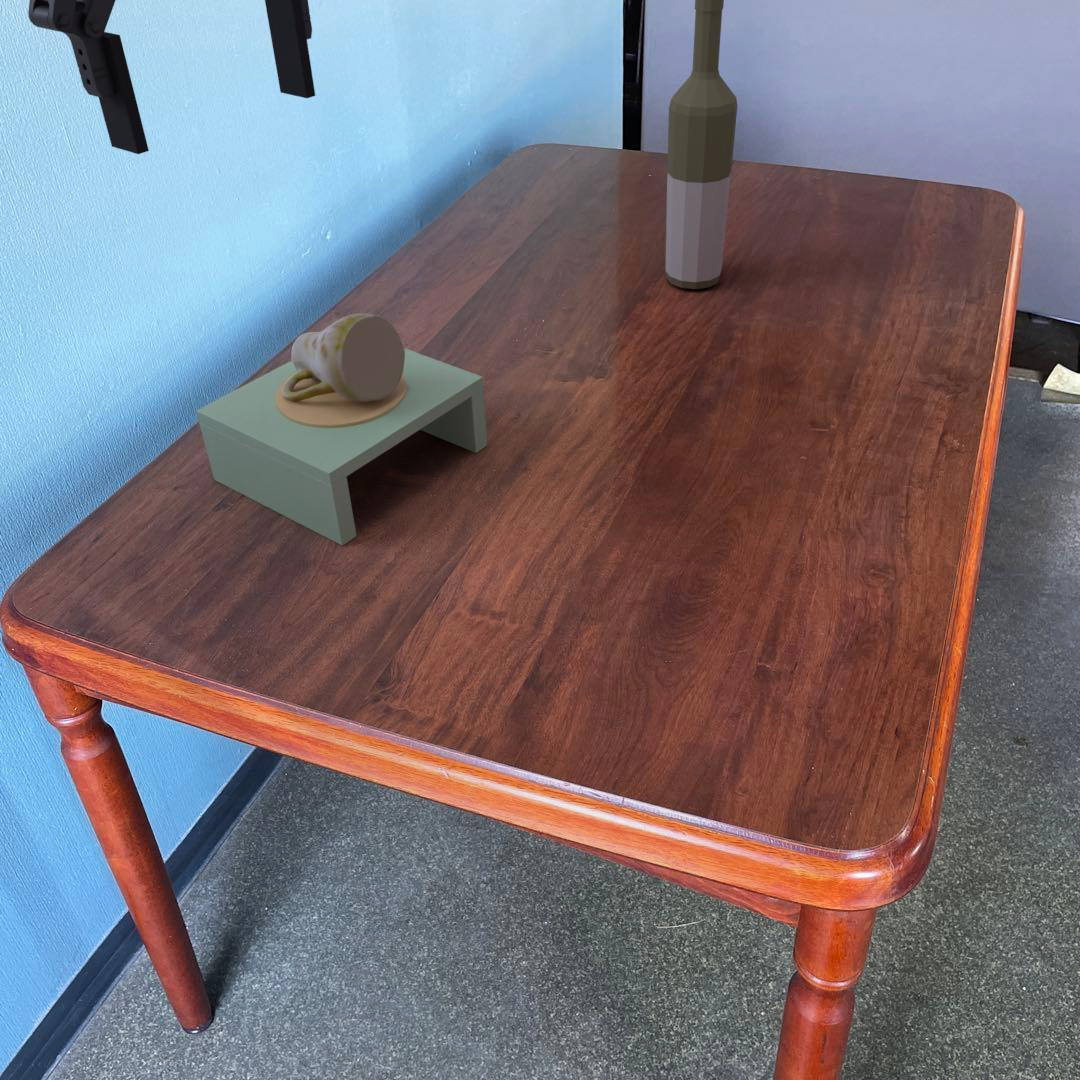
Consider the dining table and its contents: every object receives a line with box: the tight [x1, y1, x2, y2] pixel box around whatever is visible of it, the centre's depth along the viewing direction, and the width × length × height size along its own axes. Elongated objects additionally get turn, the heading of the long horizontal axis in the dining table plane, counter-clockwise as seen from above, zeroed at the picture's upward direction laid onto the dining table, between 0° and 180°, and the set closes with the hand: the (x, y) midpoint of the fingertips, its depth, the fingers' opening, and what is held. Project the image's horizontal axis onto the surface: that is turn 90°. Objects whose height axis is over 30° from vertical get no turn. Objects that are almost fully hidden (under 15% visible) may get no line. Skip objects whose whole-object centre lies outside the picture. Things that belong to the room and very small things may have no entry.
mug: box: [282, 312, 405, 402], centre depth 89 cm, size 8×10×10 cm
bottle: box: [664, 0, 738, 290], centre depth 113 cm, size 7×7×30 cm
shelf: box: [195, 347, 488, 546], centre depth 93 cm, size 16×18×7 cm
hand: (219, 120), depth 70 cm, fingers open, 13 cm apart
